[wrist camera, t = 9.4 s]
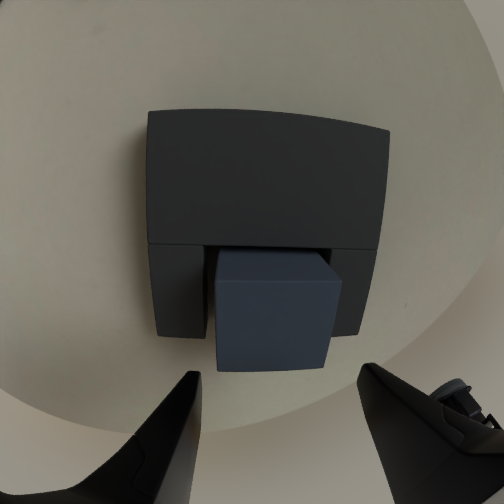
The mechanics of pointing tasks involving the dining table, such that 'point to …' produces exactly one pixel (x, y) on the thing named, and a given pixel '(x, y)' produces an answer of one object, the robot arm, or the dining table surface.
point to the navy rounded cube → (273, 308)
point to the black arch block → (259, 201)
